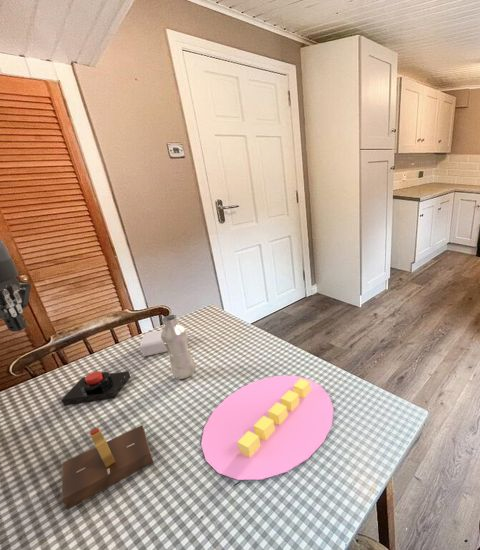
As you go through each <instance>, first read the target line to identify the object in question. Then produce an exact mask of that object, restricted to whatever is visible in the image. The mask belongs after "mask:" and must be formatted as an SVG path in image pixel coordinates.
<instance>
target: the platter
mask: <svg viewBox="0 0 480 550" xmlns="http://www.w3.org/2000/svg"><path fill="white" fill-rule="evenodd" d="M333 418H334V406H333V403H332V400H331V397H330V395H329V393H328V392H327V391H326V390H325V389H324V388H323V386H322V385H320V384H318V383H317V382H315V381H314V380H311V379H309V378H307V377H306V378H305V377H302V376H298V375H275V376H270V377H264V378H260V379H258V380H255V381H253V382H251V383H248V384H245V385H243V386H241V387H240V388H239V389H237V390H236V391H234V392H232V393H231V394H230V395H228V396H227V397H226V398H224V400H222V401H221V402H220V404H218V405H217V407H216V408H214V410H213V411H212V413H211V414H210V416H209V417H208V419H207V422H206V423H205V424H204V427H203V432H202V437H201V444H200V445H201V449H202V452H203V456H204V459H205V462H207V463H208V464H209V465H210V466H211V468H213V470H214V471H216V473H217V474H219V475H223V476H225V477H228V478H231V479H234V480H236V481H257V480H258V481H263V480H266V479H269V478H272V477H275V476H279V475H282V474H285V473H288V472H289V471H291V470H293V469H294V468H296V467H297V466H299V465H301V464H302V463H304V462H305V461H307V460H309V459H310V458H311V456H312V455H313V454H314V453H315V452H316V451H317V450H318V449H319V448H320V447H321V446H322V445H323V443H324V442H325V440H326V438H327V436H328V435H329V432H330V431H331V428H332V426H333V420H334V419H333Z"/></svg>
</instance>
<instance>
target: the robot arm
mask: <svg viewBox="0 0 480 550" xmlns="http://www.w3.org/2000/svg"><path fill="white" fill-rule="evenodd" d="M18 276H19V271H18V269H17V267H16V264H15V262H14V260H13V258H12V256H11V254H10V252H9V250H8V248H7V246H6V243H5V242H4V241H3V240H2V238H1V237H0V320H3V321H4V323H5V325H6V328H7V329H8V330H9V331H11V332H13V333H15V332H22V331H23V330H25V329H27V327H28V325H27V321H26V319H25V318H24V315H23V312H24V310H23V309H25V308H28V306H29V300H30V295H31V288H32V284H31V283H29V282H28V283H23V282H20V280H19V279H18V278H17V277H18Z"/></svg>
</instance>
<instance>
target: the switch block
mask: <svg viewBox="0 0 480 550" xmlns="http://www.w3.org/2000/svg"><path fill="white" fill-rule="evenodd" d="M100 372H101V373H102V375H103V379H102V380H101V381H99V382H98V383H95V384H91V385H88V384H87V383H86V381H85V377H86V376H83V377H81V378H80V379H79V380H78V382H76V384H74V385H73V387H72V388H71V389H70V390H68V392H67V393H66V394H65V395H64V396H63V397H62V398H61V402H62V404H63V406H65V407H67V406H72V405H78V404H79V405H81V404H86V403H94V402H100V401H101V402H102V401H106V400H107V401H108V400H115V399H116V398H117V396H118V395H119V394H120V392H121V391H122V390H123V388H124V387H125V386H126V384H127V383H128V381H129V380H130V379H131V374H130V371H128V370H127V371H120V372H112V373H110V372H107V371H100Z"/></svg>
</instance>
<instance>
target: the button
mask: <svg viewBox="0 0 480 550" xmlns="http://www.w3.org/2000/svg"><path fill="white" fill-rule="evenodd" d="M101 372H102V371H93V372H91V373H89V374H87V375H86V376H84V377H85V381H86V383H87V384H88V385H91V384H95V383H98V382H99V381H101V380H102V379H103V375H102V373H101Z"/></svg>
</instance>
